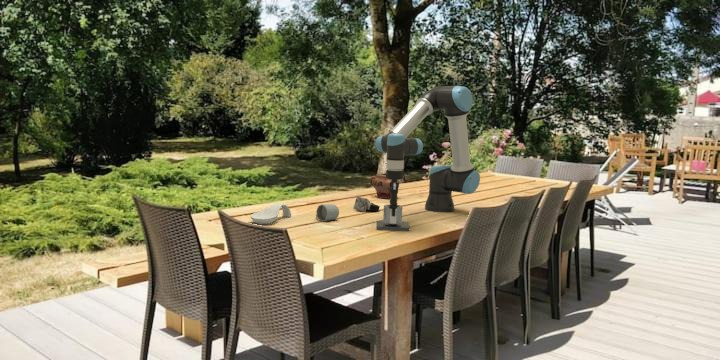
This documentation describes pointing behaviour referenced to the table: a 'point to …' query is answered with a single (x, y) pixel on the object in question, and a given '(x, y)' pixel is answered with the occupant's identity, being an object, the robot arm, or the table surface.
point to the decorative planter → (381, 185)
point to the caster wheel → (364, 205)
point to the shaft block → (393, 226)
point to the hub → (387, 214)
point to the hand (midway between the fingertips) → (392, 221)
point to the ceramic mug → (327, 212)
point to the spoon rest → (270, 214)
